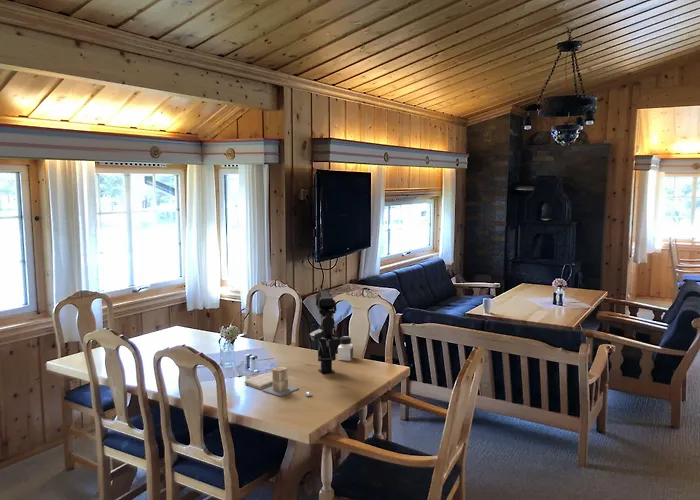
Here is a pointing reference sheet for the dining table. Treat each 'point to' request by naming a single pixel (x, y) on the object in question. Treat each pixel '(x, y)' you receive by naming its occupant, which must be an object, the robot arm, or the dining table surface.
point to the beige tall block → (280, 378)
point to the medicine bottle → (345, 349)
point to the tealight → (308, 394)
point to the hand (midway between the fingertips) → (327, 355)
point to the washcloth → (260, 381)
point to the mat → (278, 393)
